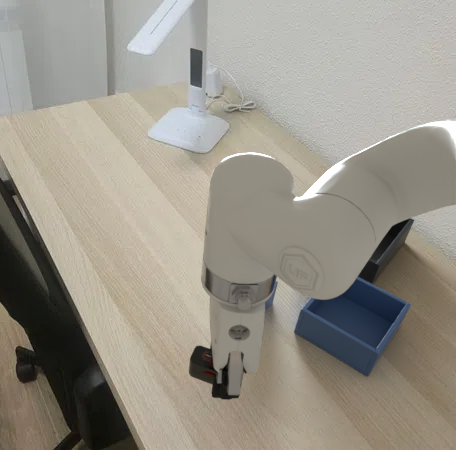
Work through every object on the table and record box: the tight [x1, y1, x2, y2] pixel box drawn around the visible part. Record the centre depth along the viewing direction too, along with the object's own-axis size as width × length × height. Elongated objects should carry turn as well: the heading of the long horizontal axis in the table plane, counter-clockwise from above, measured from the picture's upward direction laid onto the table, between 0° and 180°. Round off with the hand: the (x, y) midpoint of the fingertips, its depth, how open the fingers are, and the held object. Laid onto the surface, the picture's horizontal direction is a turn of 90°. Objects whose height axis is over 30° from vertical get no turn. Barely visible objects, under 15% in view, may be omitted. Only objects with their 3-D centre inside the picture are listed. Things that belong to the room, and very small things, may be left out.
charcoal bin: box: [358, 218, 415, 285], centre depth 91 cm, size 14×14×5 cm
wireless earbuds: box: [188, 345, 247, 385], centre depth 67 cm, size 5×7×3 cm, turn 66°
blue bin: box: [293, 277, 412, 377], centre depth 78 cm, size 11×11×5 cm
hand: (223, 375), depth 67 cm, fingers closed on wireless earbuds, 4 cm apart
